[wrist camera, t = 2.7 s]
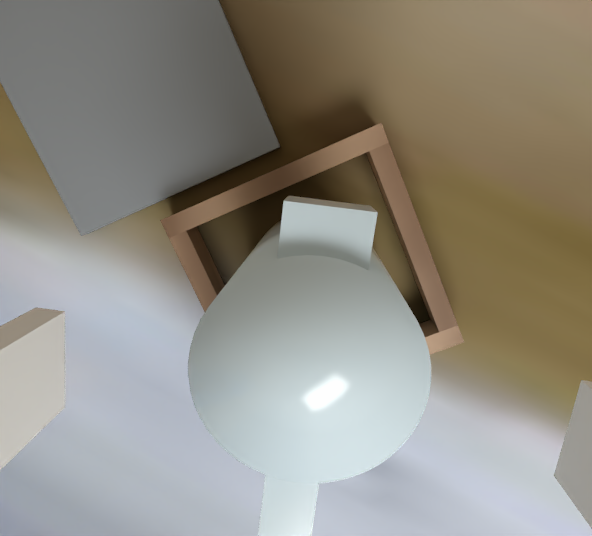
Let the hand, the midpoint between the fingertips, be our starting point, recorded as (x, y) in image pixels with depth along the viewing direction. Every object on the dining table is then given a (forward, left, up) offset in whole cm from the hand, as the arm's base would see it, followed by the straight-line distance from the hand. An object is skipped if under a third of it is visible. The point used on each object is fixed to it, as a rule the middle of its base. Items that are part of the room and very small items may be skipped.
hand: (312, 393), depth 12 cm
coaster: (-5, +13, -15) cm, 20 cm away
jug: (-1, -2, -14) cm, 15 cm away
